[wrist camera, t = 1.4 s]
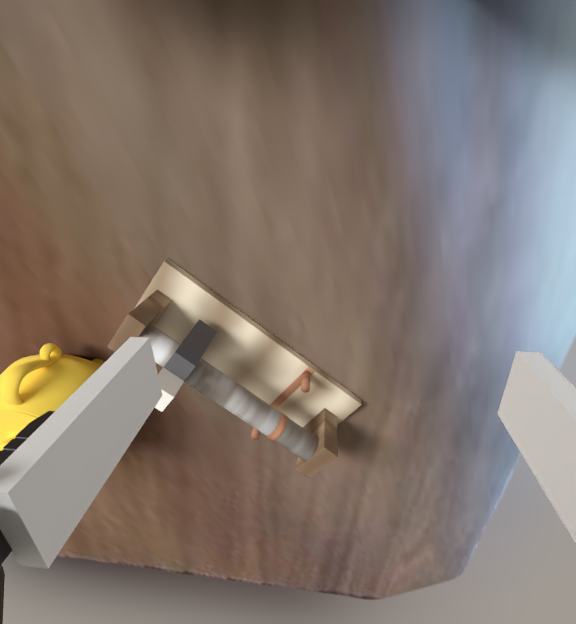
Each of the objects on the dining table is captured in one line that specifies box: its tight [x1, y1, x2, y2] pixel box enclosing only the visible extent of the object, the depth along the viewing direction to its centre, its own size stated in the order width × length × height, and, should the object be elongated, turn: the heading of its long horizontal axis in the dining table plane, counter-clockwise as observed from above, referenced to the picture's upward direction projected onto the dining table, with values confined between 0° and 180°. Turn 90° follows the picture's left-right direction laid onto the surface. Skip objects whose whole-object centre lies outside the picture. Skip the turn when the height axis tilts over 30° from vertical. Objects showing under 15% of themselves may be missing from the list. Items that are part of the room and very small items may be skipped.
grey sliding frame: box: [155, 319, 217, 412], centre depth 37 cm, size 2×7×10 cm, turn 142°
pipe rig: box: [108, 259, 362, 478], centre depth 42 cm, size 29×12×8 cm, turn 52°
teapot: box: [0, 343, 105, 451], centre depth 44 cm, size 14×20×13 cm
